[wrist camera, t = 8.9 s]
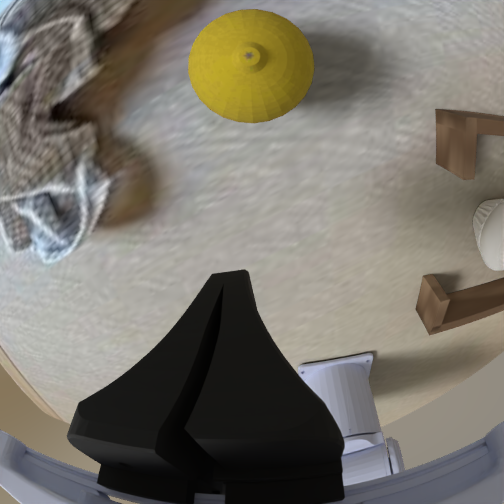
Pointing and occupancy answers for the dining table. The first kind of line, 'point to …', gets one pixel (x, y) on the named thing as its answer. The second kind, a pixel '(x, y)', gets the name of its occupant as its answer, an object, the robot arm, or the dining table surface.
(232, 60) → the lemon
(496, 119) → the brown wooden u-shaped frame
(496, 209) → the muffin
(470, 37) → the dining table surface
